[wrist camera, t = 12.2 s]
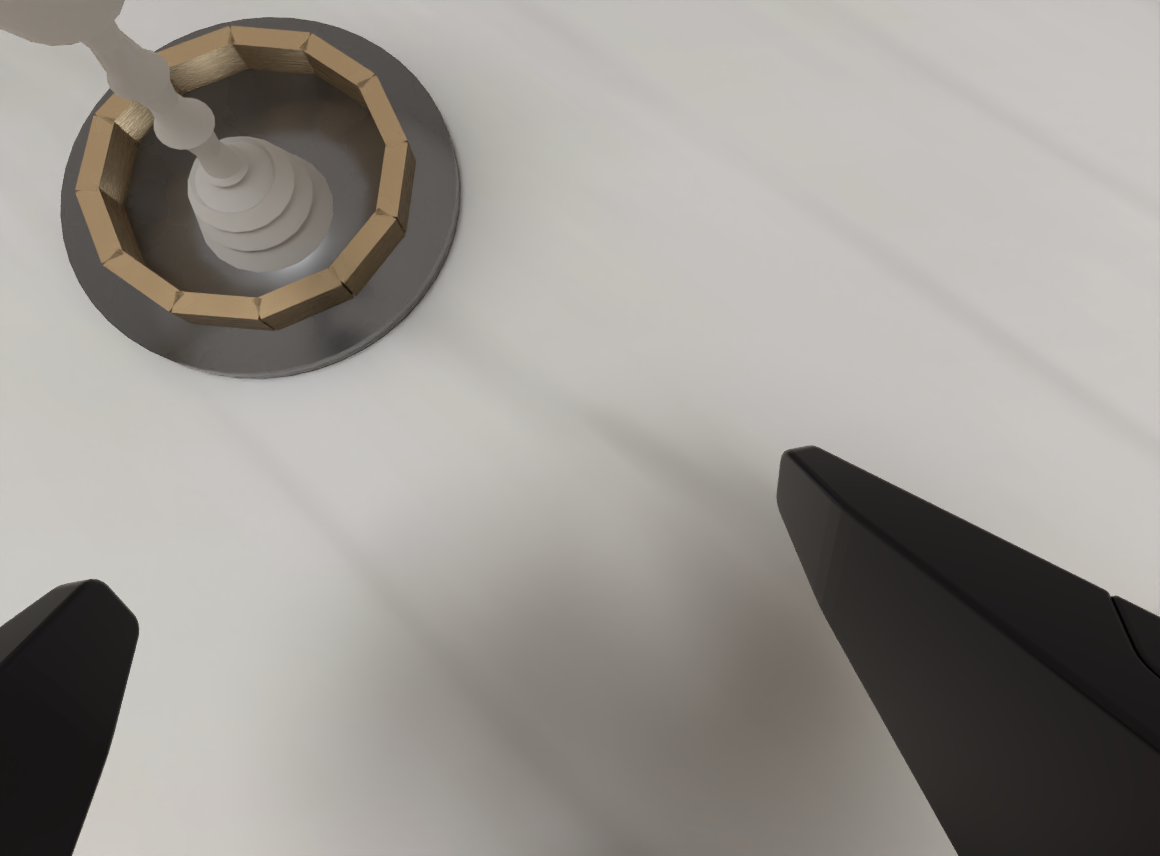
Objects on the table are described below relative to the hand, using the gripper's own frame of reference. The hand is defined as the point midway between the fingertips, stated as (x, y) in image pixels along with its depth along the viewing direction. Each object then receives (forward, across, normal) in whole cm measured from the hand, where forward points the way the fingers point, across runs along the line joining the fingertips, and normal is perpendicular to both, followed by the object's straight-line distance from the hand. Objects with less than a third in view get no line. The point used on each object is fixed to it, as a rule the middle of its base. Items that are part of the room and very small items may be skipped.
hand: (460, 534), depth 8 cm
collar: (+20, +8, -1) cm, 22 cm away
